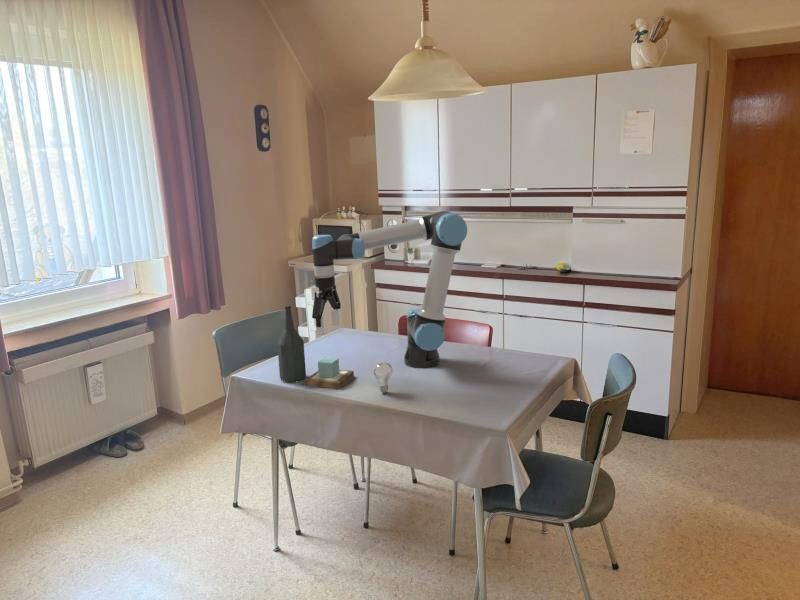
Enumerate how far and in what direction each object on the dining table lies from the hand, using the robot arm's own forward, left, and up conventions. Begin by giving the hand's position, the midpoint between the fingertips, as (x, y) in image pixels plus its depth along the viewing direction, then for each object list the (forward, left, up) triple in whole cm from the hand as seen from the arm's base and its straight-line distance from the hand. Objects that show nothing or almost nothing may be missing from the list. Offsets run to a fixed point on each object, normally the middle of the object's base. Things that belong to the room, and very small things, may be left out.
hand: (328, 330), depth 236 cm
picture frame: (0, +1, -21) cm, 21 cm away
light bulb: (-25, +7, -21) cm, 33 cm away
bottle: (+16, +2, -21) cm, 26 cm away
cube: (0, +1, -18) cm, 18 cm away
